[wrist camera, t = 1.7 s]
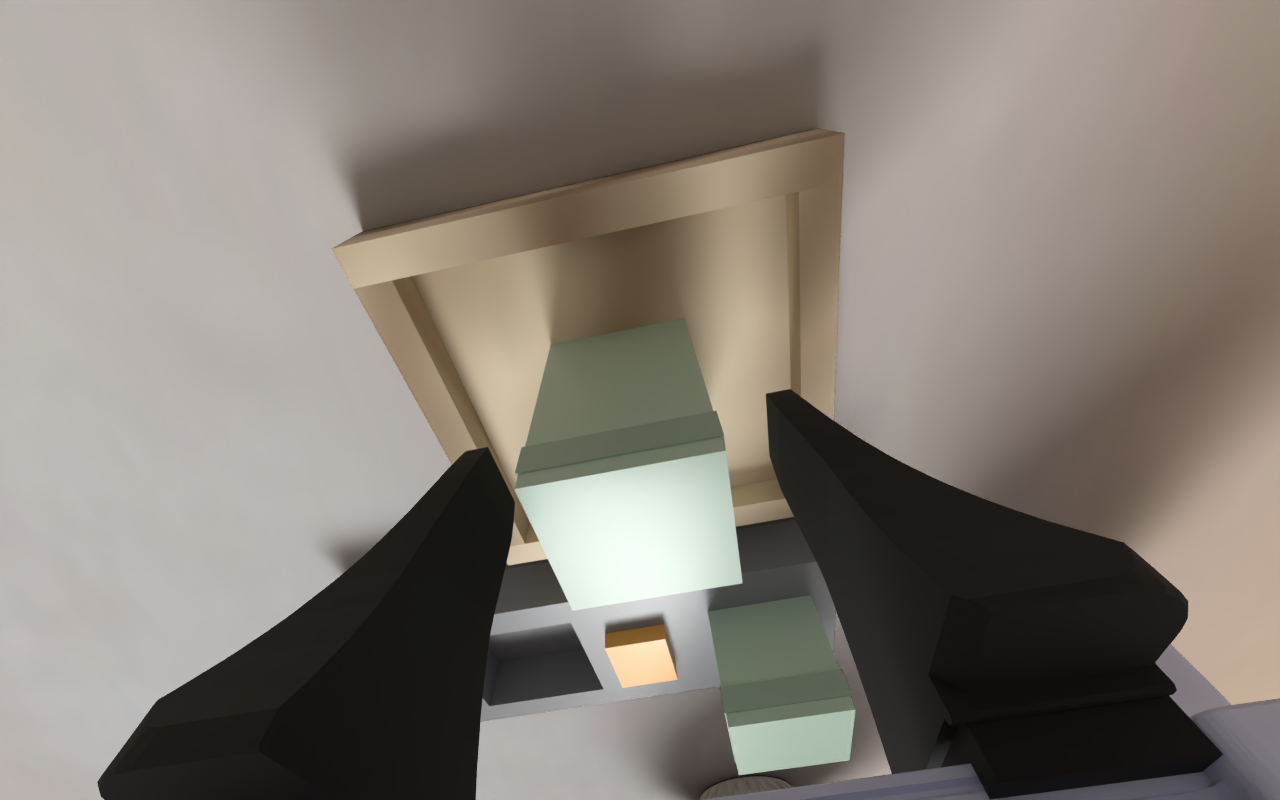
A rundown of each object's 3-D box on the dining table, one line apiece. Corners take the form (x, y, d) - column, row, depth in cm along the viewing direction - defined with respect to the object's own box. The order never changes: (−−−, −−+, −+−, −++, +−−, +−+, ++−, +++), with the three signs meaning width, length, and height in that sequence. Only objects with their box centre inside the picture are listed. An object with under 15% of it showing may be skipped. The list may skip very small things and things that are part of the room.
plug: (685, 315, 14) (728, 448, 8) (703, 427, 16) (744, 583, 11) (548, 344, 14) (510, 488, 9) (584, 449, 16) (570, 612, 11)
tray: (817, 128, 12) (844, 133, 10) (814, 479, 18) (830, 510, 17) (361, 232, 12) (331, 248, 11) (515, 532, 19) (508, 565, 18)
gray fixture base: (814, 506, 19) (894, 673, 14) (812, 618, 23) (873, 777, 18) (350, 586, 20) (253, 766, 15) (430, 677, 25) (378, 842, 19)
